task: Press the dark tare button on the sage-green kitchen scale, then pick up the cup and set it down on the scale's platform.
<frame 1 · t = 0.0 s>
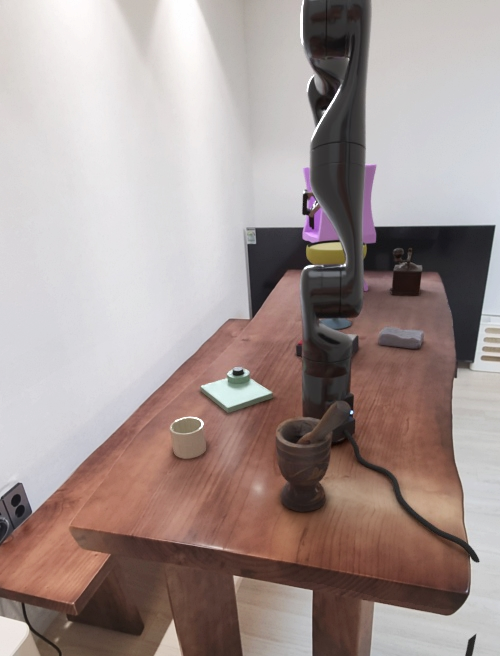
hand: (328, 227, 129), 31 cm above the table, tool tilted 20°, fingers open, 8 cm apart
coffee grinder: (404, 294, 179), on the table
chair: (336, 287, 193), on the table
scale: (235, 394, 111), on the table
mortar and pestle: (313, 501, 76), on the table
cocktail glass: (334, 324, 153), on the table
tare button: (238, 371, 115), point 3 cm above the table, slide at 0.1 cm
calculator: (327, 352, 132), on the table
cup: (190, 449, 91), on the table
stone block: (401, 342, 135), on the table
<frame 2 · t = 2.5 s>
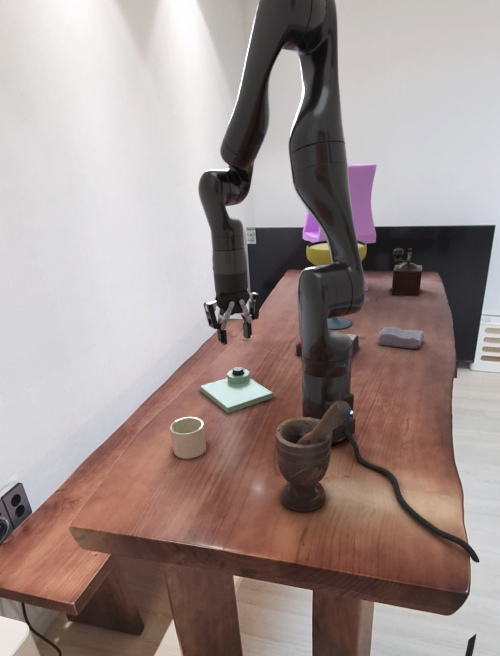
hand: (235, 340, 111), 12 cm above the table, tool pointing down, fingers open, 5 cm apart
nothing on the table moved.
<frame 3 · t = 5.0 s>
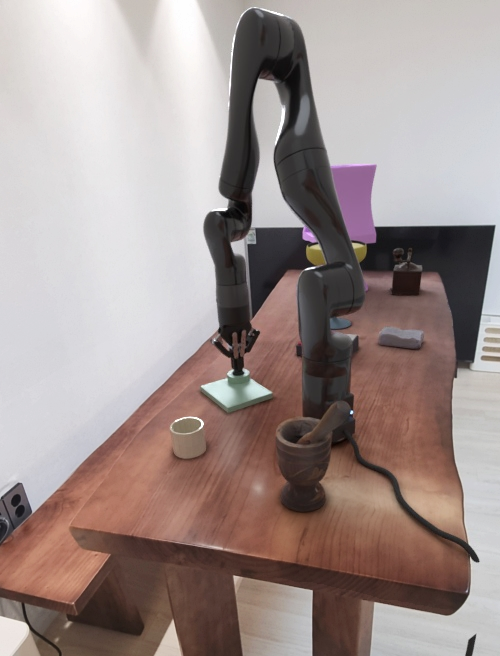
hand: (238, 370, 115), 4 cm above the table, tool pointing down, fingers closed
tare button: (238, 373, 115), point 3 cm above the table, slide at -0.4 cm, touching gripper
everything else where it was.
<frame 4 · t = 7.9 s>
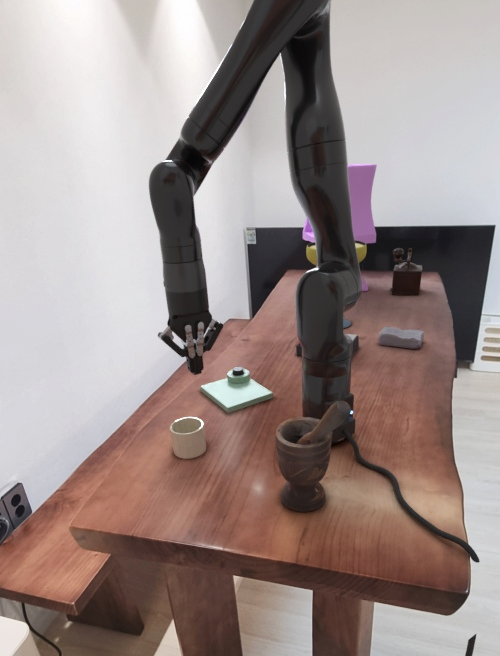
hand: (196, 372, 92), 13 cm above the table, tool pointing down, fingers closed
tare button: (238, 371, 115), point 3 cm above the table, slide at 0.1 cm
everything else where it was.
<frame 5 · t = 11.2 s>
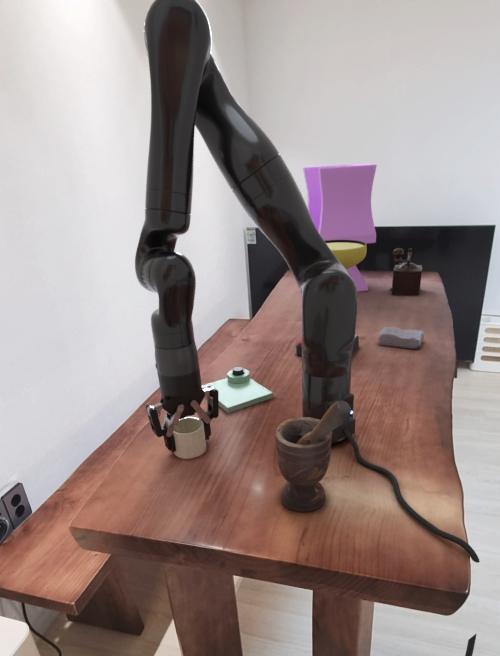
hand: (189, 443, 91), 1 cm above the table, tool pointing down, fingers closed on cup, 6 cm apart
cup: (190, 449, 91), on the table, touching gripper
everything else where it was.
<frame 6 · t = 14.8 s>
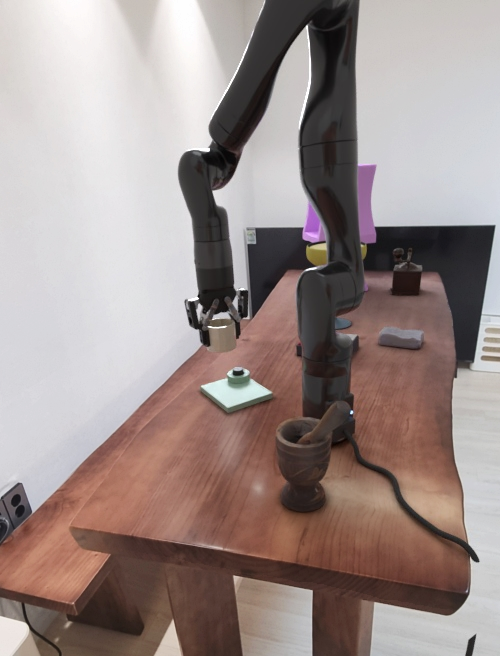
hand: (221, 341, 100), 15 cm above the table, tool pointing down, fingers closed on cup, 6 cm apart
cup: (221, 347, 101), point 14 cm above the table, touching gripper
everything else where it was.
when the fingers open (3 cm above the table, at t = 18.5 s): cup stays where it is, resting on scale.
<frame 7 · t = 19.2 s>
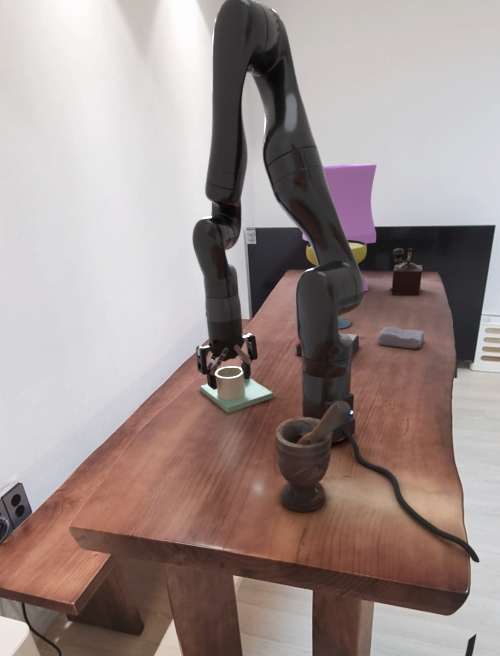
hand: (230, 383, 107), 4 cm above the table, tool pointing down, fingers open, 8 cm apart
cup: (231, 393, 109), point 1 cm above the table, touching scale
everything else where it was.
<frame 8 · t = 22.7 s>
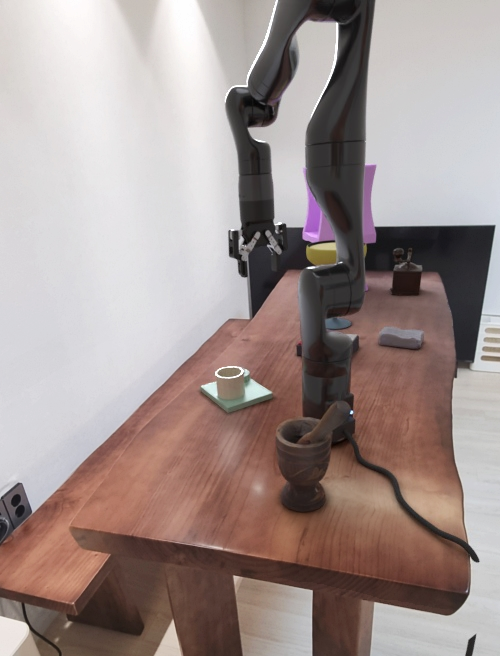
hand: (260, 273, 107), 26 cm above the table, tool pointing down, fingers open, 8 cm apart
nothing on the table moved.
at the end: tare button pushed in 1.0 cm at the most during the clip, back to where it started at the end; cup inside the target area on the scale (2.4 cm from its centre), point 1.4 cm above the scale's base; cup tilted 0° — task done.
